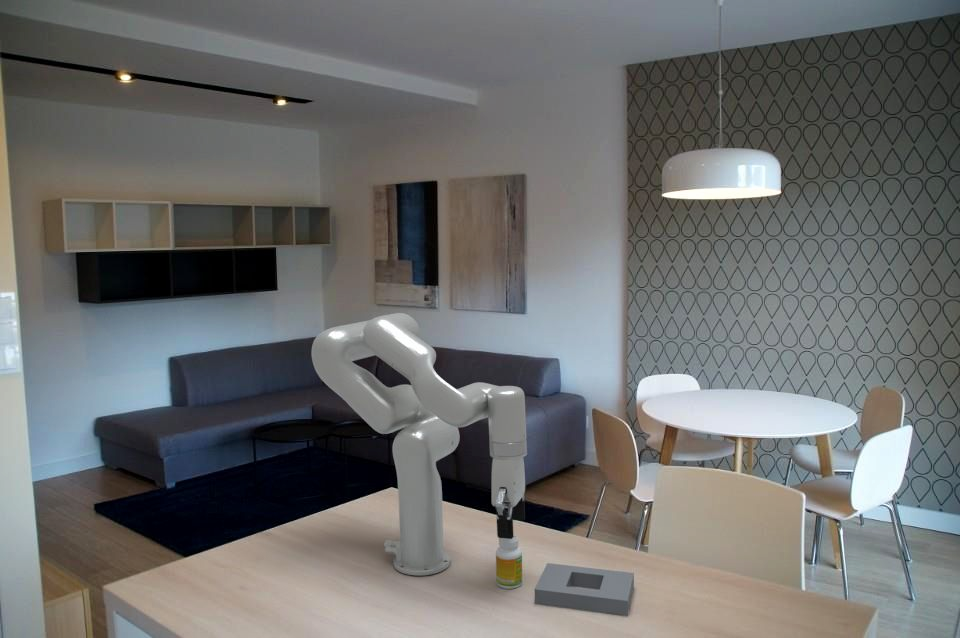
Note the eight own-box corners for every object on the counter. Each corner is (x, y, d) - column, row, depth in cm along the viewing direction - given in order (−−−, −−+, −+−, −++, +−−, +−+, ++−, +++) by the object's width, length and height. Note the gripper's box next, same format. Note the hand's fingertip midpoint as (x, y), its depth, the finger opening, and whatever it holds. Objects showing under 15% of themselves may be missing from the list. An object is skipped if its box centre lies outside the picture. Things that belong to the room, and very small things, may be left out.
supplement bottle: (520, 590, 152) (519, 544, 150) (494, 588, 153) (493, 543, 152) (524, 578, 157) (523, 534, 156) (498, 576, 158) (498, 532, 157)
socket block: (534, 603, 146) (534, 589, 146) (547, 576, 157) (547, 562, 157) (627, 615, 141) (627, 600, 140) (633, 586, 152) (633, 572, 152)
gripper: (501, 435, 161) (505, 512, 162) (478, 458, 144) (482, 544, 146) (535, 436, 158) (538, 514, 160) (515, 460, 142) (519, 546, 144)
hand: (511, 528), depth 153 cm, fingers open, 9 cm apart
